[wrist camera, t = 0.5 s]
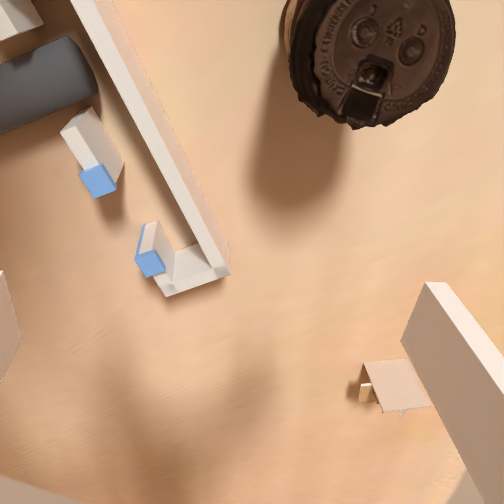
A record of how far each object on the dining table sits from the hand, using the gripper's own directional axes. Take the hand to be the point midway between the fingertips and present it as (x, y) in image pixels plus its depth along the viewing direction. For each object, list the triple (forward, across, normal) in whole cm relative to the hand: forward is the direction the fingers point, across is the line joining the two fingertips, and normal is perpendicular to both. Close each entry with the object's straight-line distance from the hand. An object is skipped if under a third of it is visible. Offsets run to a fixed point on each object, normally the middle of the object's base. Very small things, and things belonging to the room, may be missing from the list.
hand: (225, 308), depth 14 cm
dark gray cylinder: (+24, -15, 0) cm, 28 cm away
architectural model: (+25, +23, -30) cm, 46 cm away
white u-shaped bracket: (+24, -6, -3) cm, 25 cm away
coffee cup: (+24, +8, +6) cm, 26 cm away
